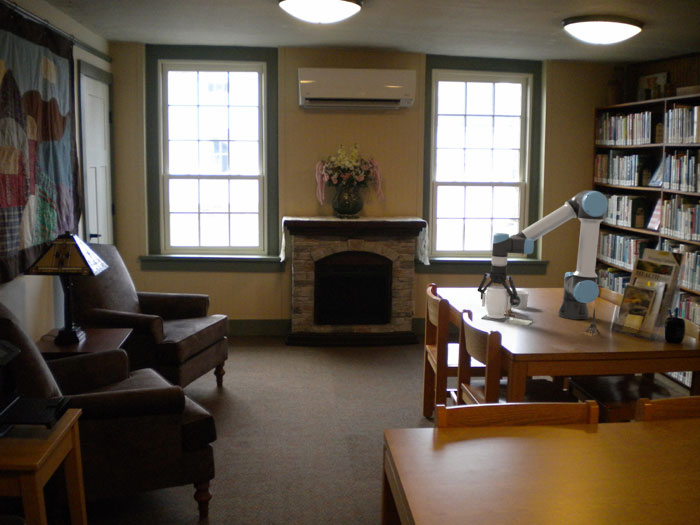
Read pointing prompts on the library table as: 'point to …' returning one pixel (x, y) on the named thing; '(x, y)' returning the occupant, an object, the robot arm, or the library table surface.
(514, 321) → the sage mat
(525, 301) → the mug
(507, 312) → the screen
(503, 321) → the grey mat
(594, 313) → the eiffel tower figurine
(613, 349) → the library table surface
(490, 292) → the jar
